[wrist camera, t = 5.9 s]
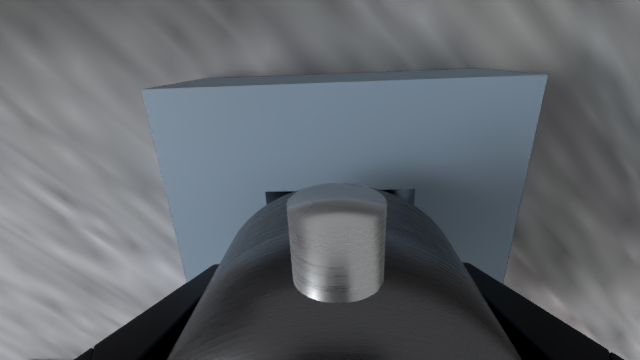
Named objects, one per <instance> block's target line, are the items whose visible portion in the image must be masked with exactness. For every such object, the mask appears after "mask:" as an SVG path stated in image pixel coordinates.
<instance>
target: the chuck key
mask: <svg viewBox="0 0 640 360" xmlns="http://www.w3.org/2000/svg"><path fill="white" fill-rule="evenodd" d="M167 360H522V358H521V357H520V355H519V354H518V352H517V350H516V349H515V347H514V345H513V344H512V342H511V341H510V339H509V337H508V336H507V334H506V333H505V331H504V329H503V328H502V326H501V324H500V323H499V321H498V320H497V318H496V316H495V315H494V313H493V312H492V310H491V308H490V307H489V305H488V303H487V302H486V300H485V299H484V297H483V295H482V294H481V292H480V290H479V289H478V287H477V286H476V284H475V282H474V281H473V279H472V278H471V276H470V274H469V273H468V271H467V269H466V268H465V266H464V265H463V263H462V261H461V260H460V258H459V257H458V255H457V253H456V252H455V250H454V248H453V247H452V245H451V244H450V242H449V240H448V239H447V237H446V236H445V234H444V233H443V231H442V230H441V229H440V228H439V227H438V225H437V224H436V223H435V222H434V221H433V220H432V219H431V218H430V217H429V216H428V215H426V214H425V213H424V212H423V211H421V210H420V209H419V208H417V207H416V206H414V205H413V204H411V203H409V202H408V201H406V200H404V199H402V198H400V197H397V196H395V195H393V194H391V193H388V192H385V191H381V190H378V189H374V188H370V187H366V186H362V185H357V184H350V183H327V184H319V185H314V186H311V187H307V188H304V189H301V190H298V191H295V192H292V193H289V194H286V195H284V196H282V197H280V198H278V199H276V200H274V201H272V202H270V203H269V204H267V205H266V206H264V207H263V208H261V209H260V210H258V211H257V212H256V213H255V214H254V215H253V216H252V217H251V218H249V219H248V220H247V221H246V223H245V224H244V225H243V226H242V227H241V229H240V230H239V231H238V232H237V234H236V236H235V237H234V239H233V241H232V243H231V244H230V246H229V248H228V250H227V251H226V253H225V255H224V257H223V259H222V260H221V262H220V264H219V266H218V268H217V270H216V271H215V273H214V275H213V277H212V279H211V280H210V282H209V284H208V286H207V288H206V289H205V291H204V293H203V295H202V297H201V298H200V300H199V302H198V304H197V306H196V307H195V309H194V311H193V313H192V315H191V316H190V318H189V320H188V322H187V324H186V325H185V327H184V329H183V331H182V333H181V334H180V336H179V338H178V340H177V342H176V343H175V345H174V347H173V349H172V351H171V352H170V354H169V356H168V358H167Z"/></svg>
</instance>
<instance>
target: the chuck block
mask: <svg viewBox="0 0 640 360" xmlns="http://www.w3.org/2000/svg"><path fill="white" fill-rule="evenodd" d="M547 77H548V75H546V74H535V73H523V72H512V71H501V70H490V69H479V68H474V69H447V70H421V71H395V72H368V73H342V74H315V75H289V76H263V77H236V78H210V79H198V80H193V81H187V82H181V83H175V84H170V85H164V86H158V87H153V88H147V89H141V91H142V95H143V100H144V104H145V108H146V112H147V116H148V121H149V125H150V129H151V133H152V137H153V142H154V146H155V150H156V154H157V158H158V163H159V167H160V171H161V175H162V179H163V184H164V188H165V192H166V196H167V200H168V205H169V209H170V213H171V217H172V221H173V226H174V230H175V234H176V238H177V243H178V247H179V251H180V255H181V259H182V264H183V268H184V272H185V276H186V280H187V282H189V281H190V280H191V279H193V278H194V277H196V276H197V275H199V274H200V273H202V272H203V271H205V270H206V269H208V268H209V267H210V266H212V265H214V264H220V262H221V260H222V259H223V257H224V255H225V253H226V251H227V250H228V248H229V246H230V244H231V243H232V241H233V239H234V237H235V236H236V234H237V232H238V231H239V230H240V229H241V227H242V226H243V225H244V224H245V223H246V221H247V220H248V219H249V218H251V217H252V216H253V215H254V214H255V213H256V212H257V211H258V210H260V209H261V208H263V207H264V206H266V205H267V204H269V203H270V202H272V201H274V200H276V199H278V198H280V197H282V196H284V195H286V194H289V191H298V190H301V189H304V188H307V187H311V186H314V185H319V184H327V183H350V184H357V185H362V186H366V187H370V188H374V189H378V190H389V193H391V194H393V195H395V196H397V197H400V198H402V199H404V200H406V201H408V202H409V203H411V204H413V205H414V206H416V207H417V208H419V209H420V210H421V211H423V212H424V213H425V214H426V215H428V216H429V217H430V218H431V219H432V220H433V221H434V222H435V223H436V224H437V225H438V227H439V228H440V229H441V230H442V231H443V233H444V234H445V236H446V237H447V239H448V240H449V242H450V244H451V245H452V247H453V248H454V250H455V252H456V253H457V255H458V257H459V258H460V260H461V261H462V262H467V263H470V264H472V265H473V266H475V267H476V268H478V269H480V270H481V271H483V272H484V273H486V274H488V275H489V276H491V277H492V278H494V279H496V280H497V281H499V282H500V283H502V284H503V281H504V276H505V272H506V267H507V263H508V258H509V253H510V249H511V244H512V239H513V235H514V230H515V226H516V221H517V216H518V212H519V207H520V202H521V198H522V193H523V188H524V184H525V179H526V175H527V170H528V165H529V161H530V156H531V151H532V147H533V142H534V137H535V133H536V128H537V124H538V119H539V114H540V110H541V105H542V100H543V96H544V91H545V87H546V82H547Z"/></svg>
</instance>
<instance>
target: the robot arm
mask: <svg viewBox="0 0 640 360" xmlns="http://www.w3.org/2000/svg"><path fill="white" fill-rule="evenodd" d="M462 263H463V265H464V266H465V268H466V269H467V271H468V273H469V274H470V276H471V278H472V279H473V281H474V282H475V284H476V286H477V287H478V289H479V290H480V292H481V294H482V295H483V297H484V299H485V300H486V302H487V303H488V305H489V307H490V308H491V310H492V312H493V313H494V315H495V316H496V318H497V320H498V321H499V323H500V324H501V326H502V328H503V329H504V331H505V333H506V334H507V336H508V337H509V339H510V341H511V342H512V344H513V345H514V347H515V349H516V350H517V352H518V354H519V355H520V357H521V358H522V360H624V359H622V358H621V357H619V356H617V355H616V354H614V353H612V352H611V353H609V351H608V349H606V348H604V347H603V346H601V345H600V344H598V343H596V342H595V341H593V340H592V339H590V338H588V337H587V336H585V335H584V334H582V333H580V332H579V331H577V330H576V329H574V328H572V327H571V326H569V325H568V324H566V323H564V322H563V321H561V320H560V319H558V318H556V317H555V316H553V315H552V314H550V313H548V312H547V311H545V310H544V309H542V308H540V307H539V306H537V305H536V304H534V303H532V302H531V301H529V300H528V299H526V298H524V297H523V296H521V295H520V294H518V293H516V292H515V291H513V290H512V289H510V288H508V287H507V286H505V285H504V284H502V283H500V282H499V281H497V280H496V279H494V278H492V277H491V276H489V275H488V274H486V273H484V272H483V271H481V270H480V269H478V268H476V267H475V266H473V265H472V264H470V263H467V262H462ZM218 266H219V264H214V265H212V266H210V267H209V268H208V269H206V270H205V271H203V272H202V273H200V274H199V275H197V276H196V277H194V278H193V279H191V280H190V281H189V282H187V283H186V284H184V285H183V286H181V287H180V288H178V289H177V290H175V291H174V292H172V293H171V294H170V295H168V296H167V297H165V298H164V299H162V300H161V301H159V302H158V303H156V304H155V305H153V306H152V307H150V308H149V309H148V310H146V311H145V312H143V313H142V314H140V315H139V316H137V317H136V318H134V319H133V320H131V321H130V322H129V323H127V324H126V325H124V326H123V327H121V328H120V329H118V330H117V331H115V332H114V333H112V334H111V335H109V336H108V337H107V338H105V339H104V340H102V341H101V342H99V343H98V344H96V345H95V346H94V349H93V348H90V349H89V350H87V351H86V352H84V353H83V354H82V355H80V356H79V357H77V358H76V359H74V360H167V358H168V356H169V354H170V352H171V351H172V349H173V347H174V345H175V343H176V342H177V340H178V338H179V336H180V334H181V333H182V331H183V329H184V327H185V325H186V324H187V322H188V320H189V318H190V316H191V315H192V313H193V311H194V309H195V307H196V306H197V304H198V302H199V300H200V298H201V297H202V295H203V293H204V291H205V289H206V288H207V286H208V284H209V282H210V280H211V279H212V277H213V275H214V273H215V271H216V270H217V268H218Z"/></svg>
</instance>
